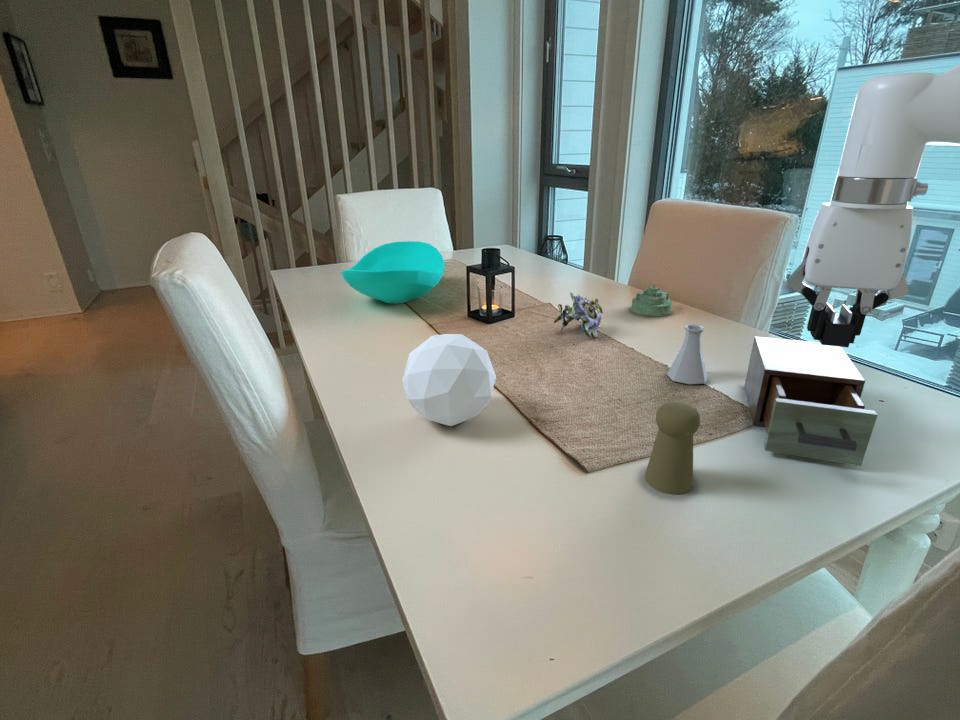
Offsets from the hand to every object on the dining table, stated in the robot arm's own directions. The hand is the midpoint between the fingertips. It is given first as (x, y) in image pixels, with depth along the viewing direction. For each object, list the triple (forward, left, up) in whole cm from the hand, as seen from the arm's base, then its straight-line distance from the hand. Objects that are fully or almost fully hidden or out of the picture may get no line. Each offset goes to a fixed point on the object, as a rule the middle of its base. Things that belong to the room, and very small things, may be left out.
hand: (831, 336), depth 68 cm
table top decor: (+94, -48, -17) cm, 107 cm away
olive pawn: (+18, +15, -17) cm, 29 cm away
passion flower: (+40, -36, -17) cm, 56 cm away
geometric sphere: (+52, +9, -17) cm, 55 cm away
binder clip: (0, 0, 0) cm, 0 cm away
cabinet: (0, -11, -17) cm, 20 cm away
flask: (+16, -19, -17) cm, 30 cm away
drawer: (0, 0, -16) cm, 16 cm away
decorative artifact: (+25, -59, -17) cm, 66 cm away
